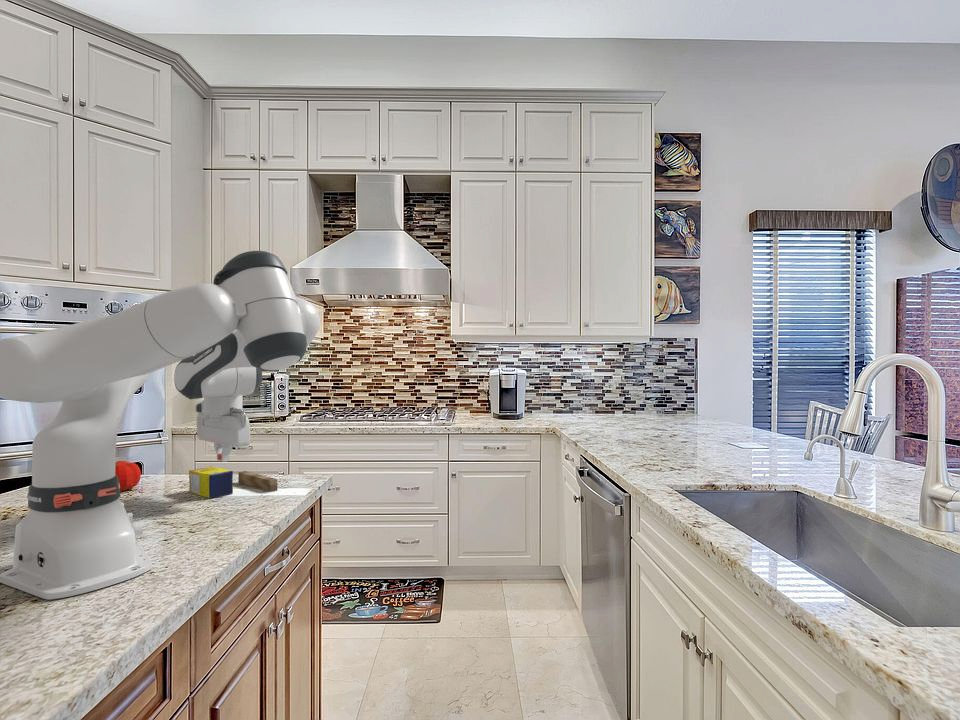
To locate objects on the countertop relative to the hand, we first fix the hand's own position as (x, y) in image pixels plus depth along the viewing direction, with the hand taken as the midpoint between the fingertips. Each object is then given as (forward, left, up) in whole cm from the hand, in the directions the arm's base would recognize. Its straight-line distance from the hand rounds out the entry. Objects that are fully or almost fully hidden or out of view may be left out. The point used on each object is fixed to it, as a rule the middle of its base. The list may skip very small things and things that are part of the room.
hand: (223, 460), depth 126 cm
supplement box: (0, 0, -6) cm, 6 cm away
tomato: (+28, +14, -9) cm, 33 cm away
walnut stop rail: (+2, -10, -9) cm, 14 cm away
